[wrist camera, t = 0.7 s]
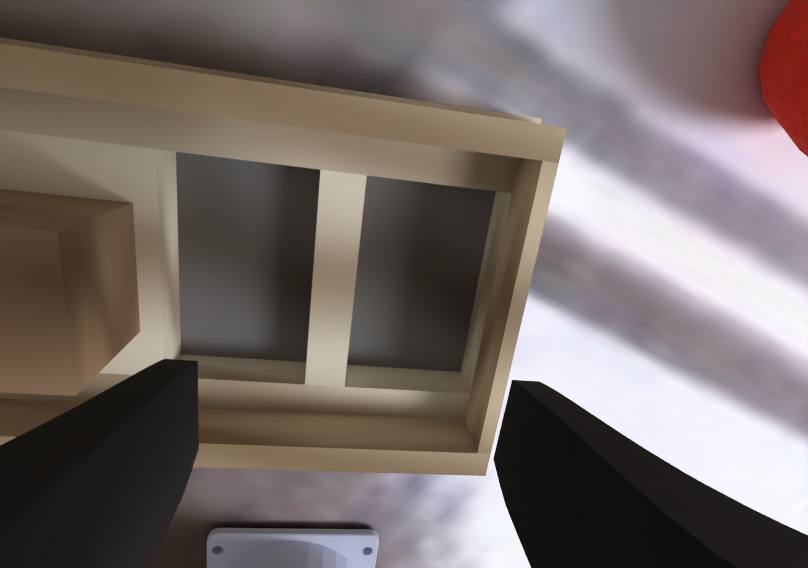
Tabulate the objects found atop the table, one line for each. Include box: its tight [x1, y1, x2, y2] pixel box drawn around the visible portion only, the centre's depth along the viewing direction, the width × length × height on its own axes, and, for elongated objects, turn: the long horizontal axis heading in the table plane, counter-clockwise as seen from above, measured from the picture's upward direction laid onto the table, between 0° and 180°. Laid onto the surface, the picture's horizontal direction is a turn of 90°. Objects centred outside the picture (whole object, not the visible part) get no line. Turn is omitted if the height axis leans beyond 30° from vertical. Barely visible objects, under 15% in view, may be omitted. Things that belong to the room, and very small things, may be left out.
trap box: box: [0, 37, 567, 476], centre depth 15 cm, size 13×24×4 cm, turn 82°
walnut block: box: [0, 189, 140, 396], centre depth 13 cm, size 4×4×4 cm
